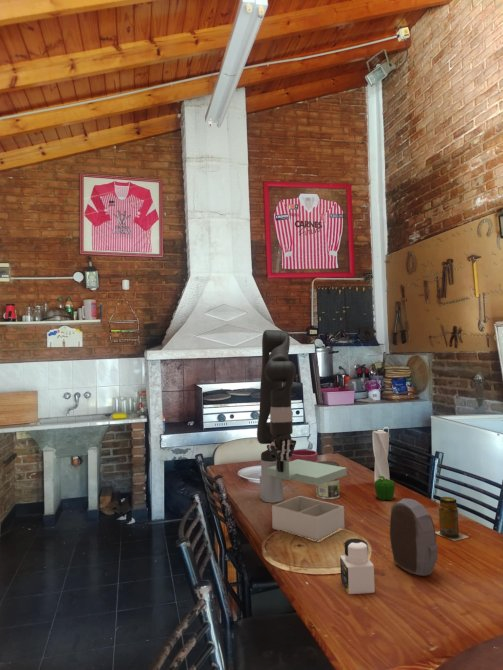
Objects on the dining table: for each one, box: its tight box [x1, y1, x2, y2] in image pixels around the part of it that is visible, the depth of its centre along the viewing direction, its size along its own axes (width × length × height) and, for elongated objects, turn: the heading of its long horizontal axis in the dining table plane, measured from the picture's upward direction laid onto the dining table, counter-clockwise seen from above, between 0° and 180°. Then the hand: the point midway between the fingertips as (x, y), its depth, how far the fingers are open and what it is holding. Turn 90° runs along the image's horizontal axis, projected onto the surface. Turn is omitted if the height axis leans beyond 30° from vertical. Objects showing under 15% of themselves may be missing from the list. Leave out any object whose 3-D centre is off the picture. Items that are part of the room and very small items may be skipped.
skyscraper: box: [372, 426, 391, 482], centre depth 215 cm, size 8×8×28 cm
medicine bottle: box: [339, 538, 375, 595], centre depth 123 cm, size 7×7×12 cm
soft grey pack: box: [389, 497, 438, 577], centre depth 132 cm, size 15×8×20 cm, turn 23°
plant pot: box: [289, 449, 318, 463], centre depth 235 cm, size 14×14×13 cm
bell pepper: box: [374, 476, 396, 501], centre depth 197 cm, size 8×8×10 cm
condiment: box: [435, 496, 469, 542], centre depth 157 cm, size 7×8×12 cm
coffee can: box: [315, 460, 341, 500], centre depth 203 cm, size 10×10×14 cm
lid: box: [267, 459, 348, 487], centre depth 164 cm, size 22×23×8 cm
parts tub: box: [271, 495, 346, 541], centre depth 165 cm, size 20×16×8 cm
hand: (282, 471), depth 156 cm, fingers closed on lid, 1 cm apart
